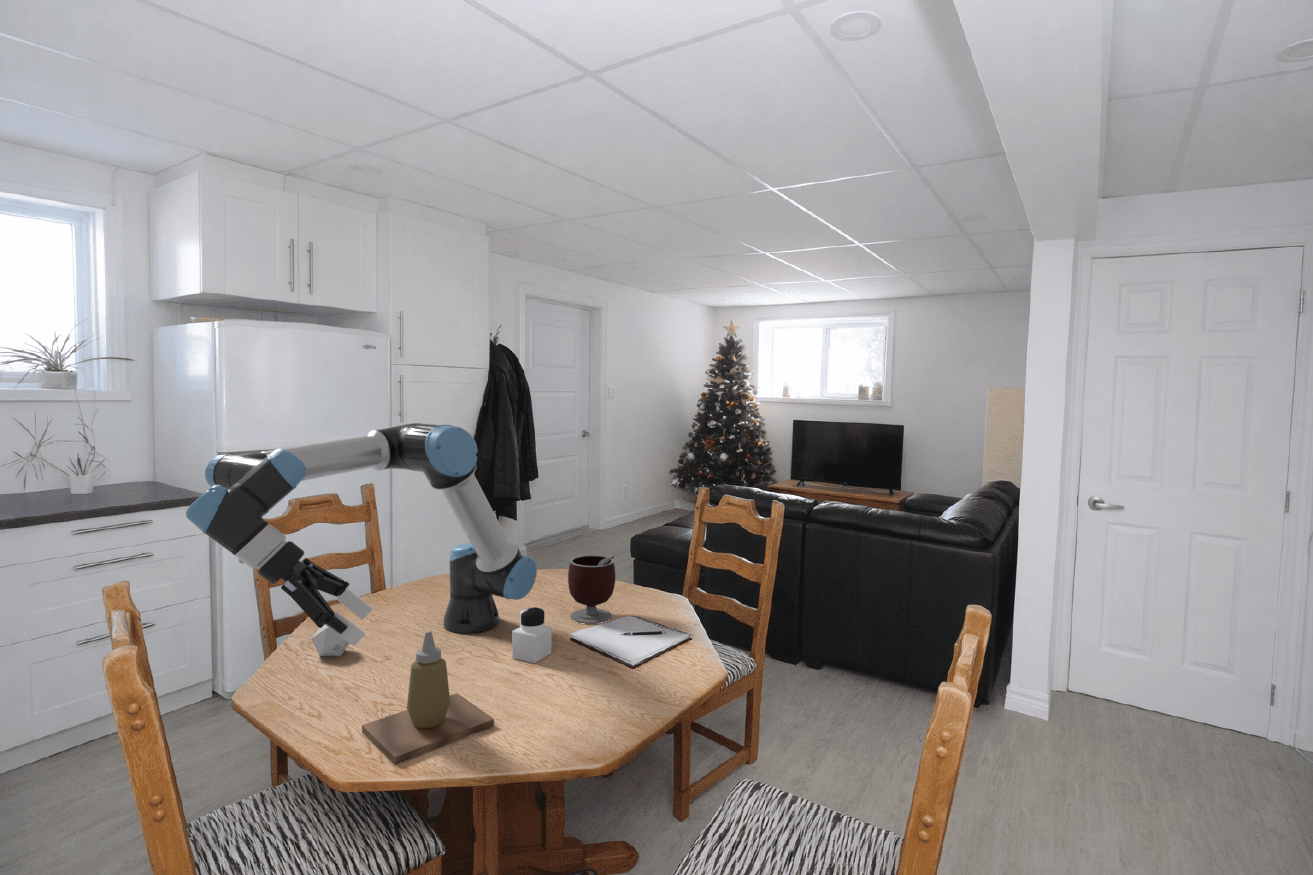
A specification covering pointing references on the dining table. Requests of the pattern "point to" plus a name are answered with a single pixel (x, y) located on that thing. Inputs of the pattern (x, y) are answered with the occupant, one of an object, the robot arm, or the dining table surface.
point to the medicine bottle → (531, 636)
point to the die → (329, 642)
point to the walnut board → (425, 730)
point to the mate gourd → (591, 586)
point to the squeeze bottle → (428, 686)
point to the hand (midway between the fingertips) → (364, 626)
